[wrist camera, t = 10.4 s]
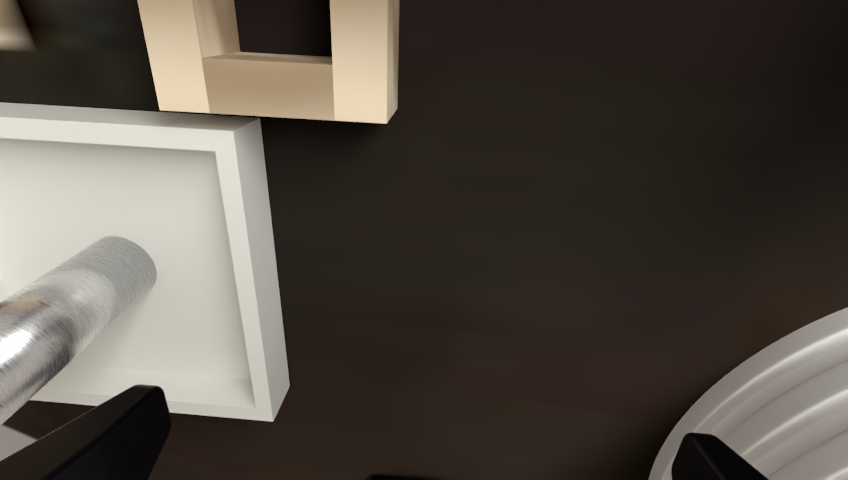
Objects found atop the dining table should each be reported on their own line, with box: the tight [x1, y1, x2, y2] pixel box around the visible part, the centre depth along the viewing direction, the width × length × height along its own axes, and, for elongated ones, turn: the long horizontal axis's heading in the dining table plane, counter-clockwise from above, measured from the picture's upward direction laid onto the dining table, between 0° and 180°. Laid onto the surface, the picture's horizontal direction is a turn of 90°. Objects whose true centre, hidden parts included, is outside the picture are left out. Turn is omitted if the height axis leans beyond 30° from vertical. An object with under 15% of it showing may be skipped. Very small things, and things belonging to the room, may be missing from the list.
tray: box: [0, 102, 290, 422], centre depth 21 cm, size 15×15×2 cm
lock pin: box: [0, 236, 157, 426], centre depth 18 cm, size 3×3×9 cm
